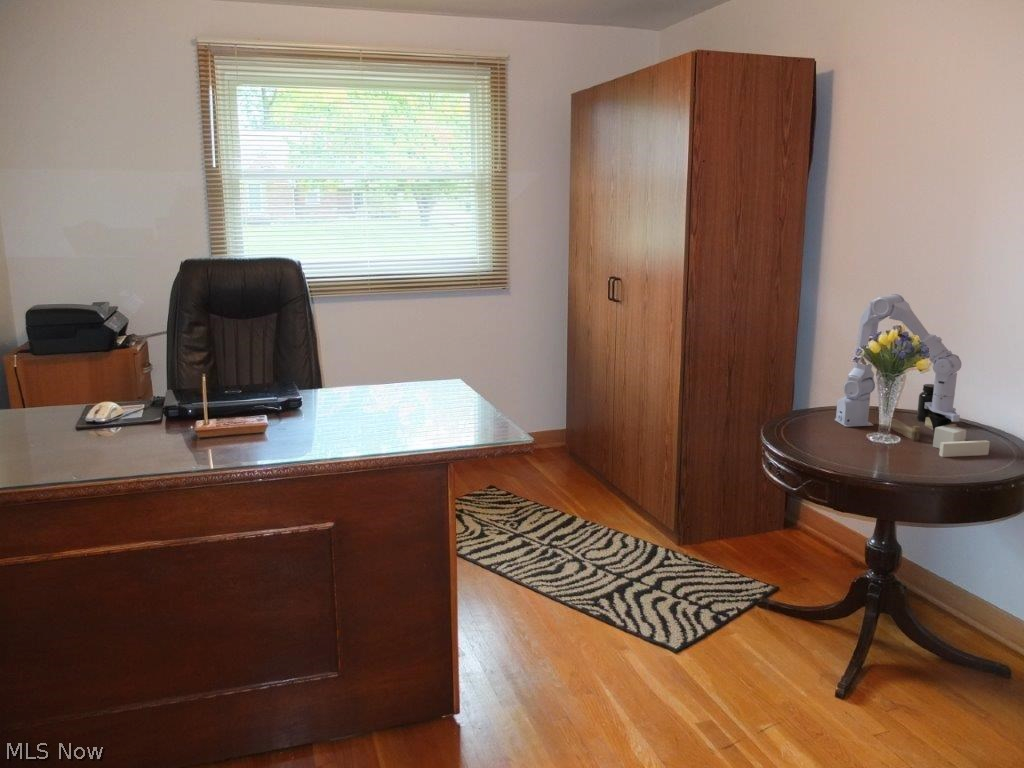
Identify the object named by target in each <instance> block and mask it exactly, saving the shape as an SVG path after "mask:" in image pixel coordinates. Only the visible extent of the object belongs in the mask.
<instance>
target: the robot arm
mask: <svg viewBox="0 0 1024 768" xmlns="http://www.w3.org/2000/svg"><path fill="white" fill-rule="evenodd" d="M886 318H888V319H889V320H894V321H899V322H901V323H902V324H903V325H904V326H905V327H906V328H907V329H908V331H910V332H911V334H912V335H913V336H914V335H918V336H919V338H920V340H921V341H922V342H924V343H925V344H926V345H927V347H928V348H929V350H930V359H928V360H929V361H930V362H931V364H932V370H933V372H934V373H935V377H934V383H933V384H934V390H933V399H932V402H925V407H924V408H925V409H929V410H931V411H932V412H934V413H933V414H929V418H930V420H931V422H932V426H933V430H932V431H933V433H934V432H935V428H936V427H940V426H944V425H950V424H951V423H952V422H954V423H955V422H960V417H961V415H960V414H958V413H957V412H956V411H957V408H955V407H954V401H955V396H956V395H955V394H956V387H957V386H956V385H957V377H958V371H960V370H961V368H962V360H961V359H960V357H959V355H957V354H955V353H953V352H952V351H951V350H949V349H948V348H947V347H946V345H944V343H943V342H942V341H943V339H942V338H941V337H940V336H937V335H936V334H931V333H929V332H928V331H927V329H926V328H925V326H924V325H923V324H922V322H921V320H919V318H918V317H917V315H916V314H915V313H914V311H913V310H912V308H911V304H910V303H909V302H908V301H906V300H905V298H904V297H903V296H902V295H901V294H898V293H893V294H890V295H889V294H888V295H884V296H878V297H876V298H874V299H872V300H871V301H869V305H868V306H867V307H866V309H865V310H864V311H863V312H862V314H861V316H860V321H859V328H858V335H857V343H856V348H855V352H856V351H857V349H858V348H859V347H861V346H863V345H866V344H868V342H869V335H870V334H872V333H876V334H877V335H878V329H879V323H880V322H882V321H884V319H886ZM855 357H856V353H855V355H854V358H855ZM872 367H873V364H872V365H871V364H868V365H863V364H857V363H855V362H854V361H853V368H852V369H851V370H850V372H849V373H848V374H847V379H846V381H845V382H844V384H843V387H842V389H843V393H844V395H845V396H844V397H840V398H839V399H838V400H837V403H836V413H835V414H836V415H835V418H834V421H835V422H837V423H839V424H840V425H842V426H843V427H847V428H849V427H850V428H851V427H870V426H871V427H872V426H874V424H873V423H872V422H870V421H869V416H870V415H869V414H870V403H871V393H873V391H874V390H875V388H876V383H875V378H874V377H875V373H874V372H873V370H872Z"/></svg>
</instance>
